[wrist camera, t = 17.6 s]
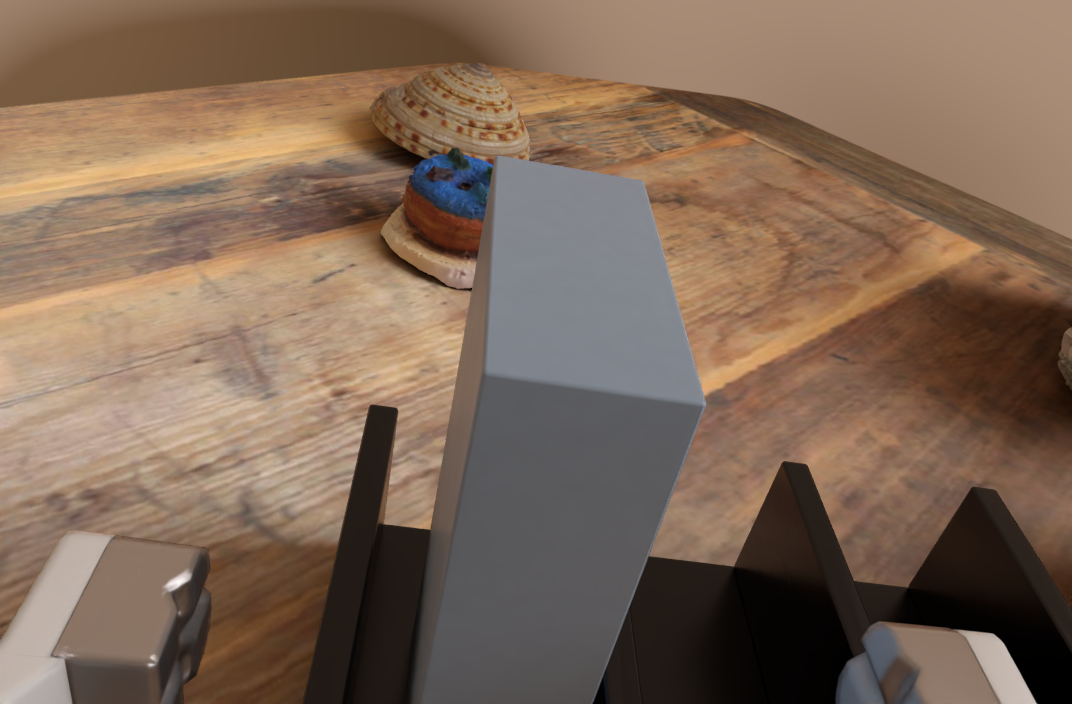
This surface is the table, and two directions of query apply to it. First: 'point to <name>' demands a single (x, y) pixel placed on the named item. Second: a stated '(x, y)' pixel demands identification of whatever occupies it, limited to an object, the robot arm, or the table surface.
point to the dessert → (442, 217)
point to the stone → (1066, 357)
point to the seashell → (453, 115)
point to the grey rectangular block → (553, 442)
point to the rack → (712, 603)
